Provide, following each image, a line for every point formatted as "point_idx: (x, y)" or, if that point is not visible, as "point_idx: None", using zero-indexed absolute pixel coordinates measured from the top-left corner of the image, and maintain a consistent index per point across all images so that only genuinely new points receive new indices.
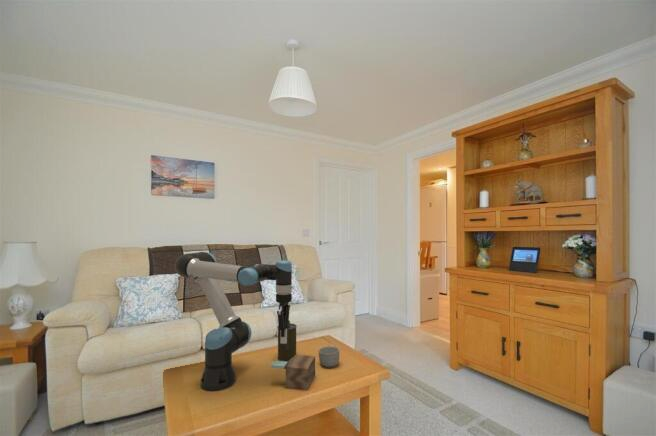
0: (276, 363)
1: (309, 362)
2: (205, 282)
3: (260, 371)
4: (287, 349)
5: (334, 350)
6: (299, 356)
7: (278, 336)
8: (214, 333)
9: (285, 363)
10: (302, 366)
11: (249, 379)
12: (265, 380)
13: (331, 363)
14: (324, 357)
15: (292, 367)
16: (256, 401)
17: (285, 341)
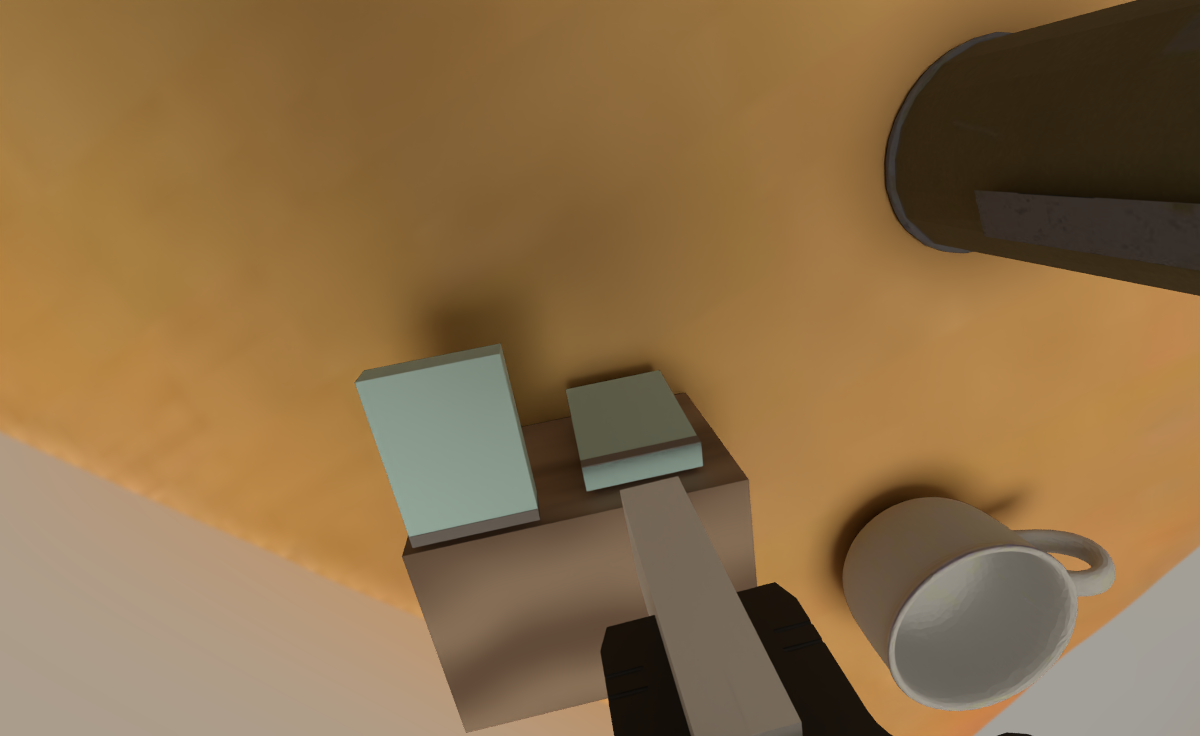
0: (433, 420)
1: (605, 685)
2: None
3: (621, 34)
4: (982, 222)
5: (1029, 619)
6: (712, 542)
7: None
8: None
9: (482, 510)
10: (495, 678)
11: (412, 23)
12: (471, 209)
13: (854, 618)
14: (875, 611)
15: (426, 618)
16: (122, 352)
17: (644, 599)
